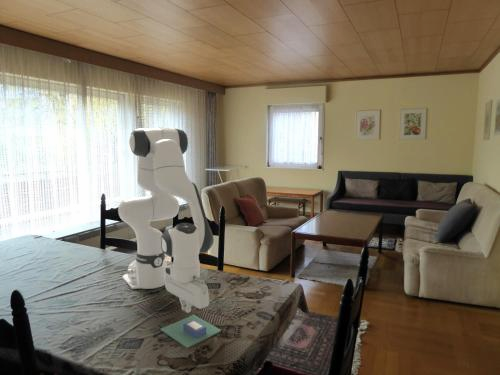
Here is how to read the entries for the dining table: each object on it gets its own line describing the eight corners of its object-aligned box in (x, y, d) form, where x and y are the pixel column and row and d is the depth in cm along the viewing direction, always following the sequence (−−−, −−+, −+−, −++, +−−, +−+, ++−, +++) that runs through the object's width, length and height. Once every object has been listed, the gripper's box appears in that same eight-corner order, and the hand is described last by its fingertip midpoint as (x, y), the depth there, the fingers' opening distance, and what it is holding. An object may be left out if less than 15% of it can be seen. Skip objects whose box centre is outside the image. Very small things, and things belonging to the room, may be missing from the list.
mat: (160, 329, 123) (160, 328, 122) (193, 315, 133) (193, 314, 133) (187, 348, 112) (187, 347, 112) (221, 331, 122) (221, 330, 122)
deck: (193, 319, 124) (206, 326, 120) (193, 325, 125) (206, 333, 120) (183, 323, 121) (196, 331, 117) (183, 330, 122) (196, 338, 117)
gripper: (213, 278, 117) (213, 319, 119) (176, 261, 130) (176, 298, 133) (198, 284, 112) (198, 326, 114) (161, 266, 126) (161, 303, 128)
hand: (186, 310), depth 124 cm, fingers closed
